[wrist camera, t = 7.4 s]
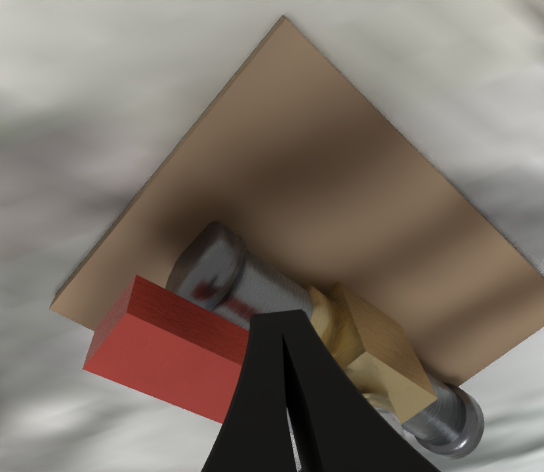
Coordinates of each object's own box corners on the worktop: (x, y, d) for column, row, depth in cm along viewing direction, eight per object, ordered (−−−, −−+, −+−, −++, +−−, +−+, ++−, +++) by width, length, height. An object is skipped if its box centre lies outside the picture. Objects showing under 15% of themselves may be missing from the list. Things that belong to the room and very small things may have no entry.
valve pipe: (470, 373, 27) (517, 450, 22) (407, 417, 28) (441, 497, 24) (229, 197, 19) (232, 264, 15) (162, 271, 21) (148, 350, 16)
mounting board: (559, 294, 25) (572, 306, 24) (350, 445, 30) (354, 459, 29) (282, 15, 16) (286, 18, 15) (55, 294, 21) (49, 308, 21)
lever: (405, 406, 19) (424, 450, 17) (363, 440, 20) (377, 484, 18) (136, 270, 14) (126, 312, 13) (97, 323, 15) (82, 368, 13)
